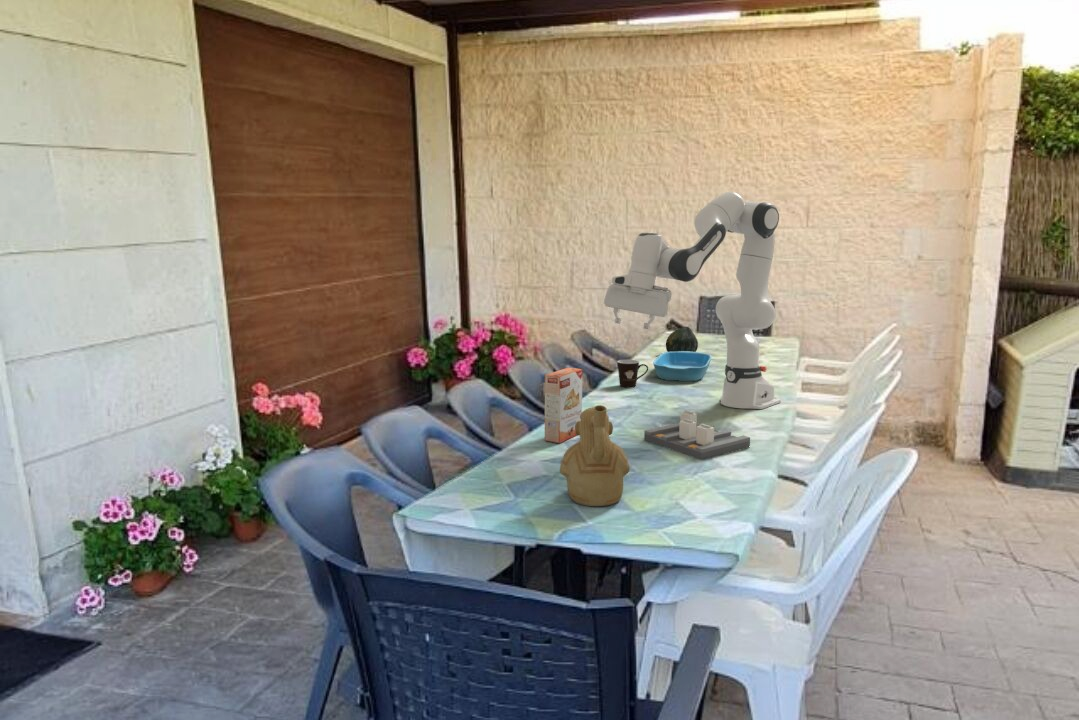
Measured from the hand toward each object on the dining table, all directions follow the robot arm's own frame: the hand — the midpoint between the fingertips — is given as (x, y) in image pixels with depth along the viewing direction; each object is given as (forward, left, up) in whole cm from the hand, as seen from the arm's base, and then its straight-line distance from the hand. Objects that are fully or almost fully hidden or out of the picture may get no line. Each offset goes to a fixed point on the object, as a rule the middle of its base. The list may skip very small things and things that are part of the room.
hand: (631, 326), depth 248 cm
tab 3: (-1, +32, -31) cm, 45 cm away
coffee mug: (-40, -46, -33) cm, 69 cm away
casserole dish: (-73, -51, -34) cm, 95 cm away
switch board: (-4, +25, -33) cm, 42 cm away
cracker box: (+24, -4, -33) cm, 41 cm away
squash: (-104, -83, -33) cm, 137 cm away
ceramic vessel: (+49, +43, -33) cm, 73 cm away
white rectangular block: (-1, +25, -31) cm, 40 cm away
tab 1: (-8, +18, -31) cm, 37 cm away
